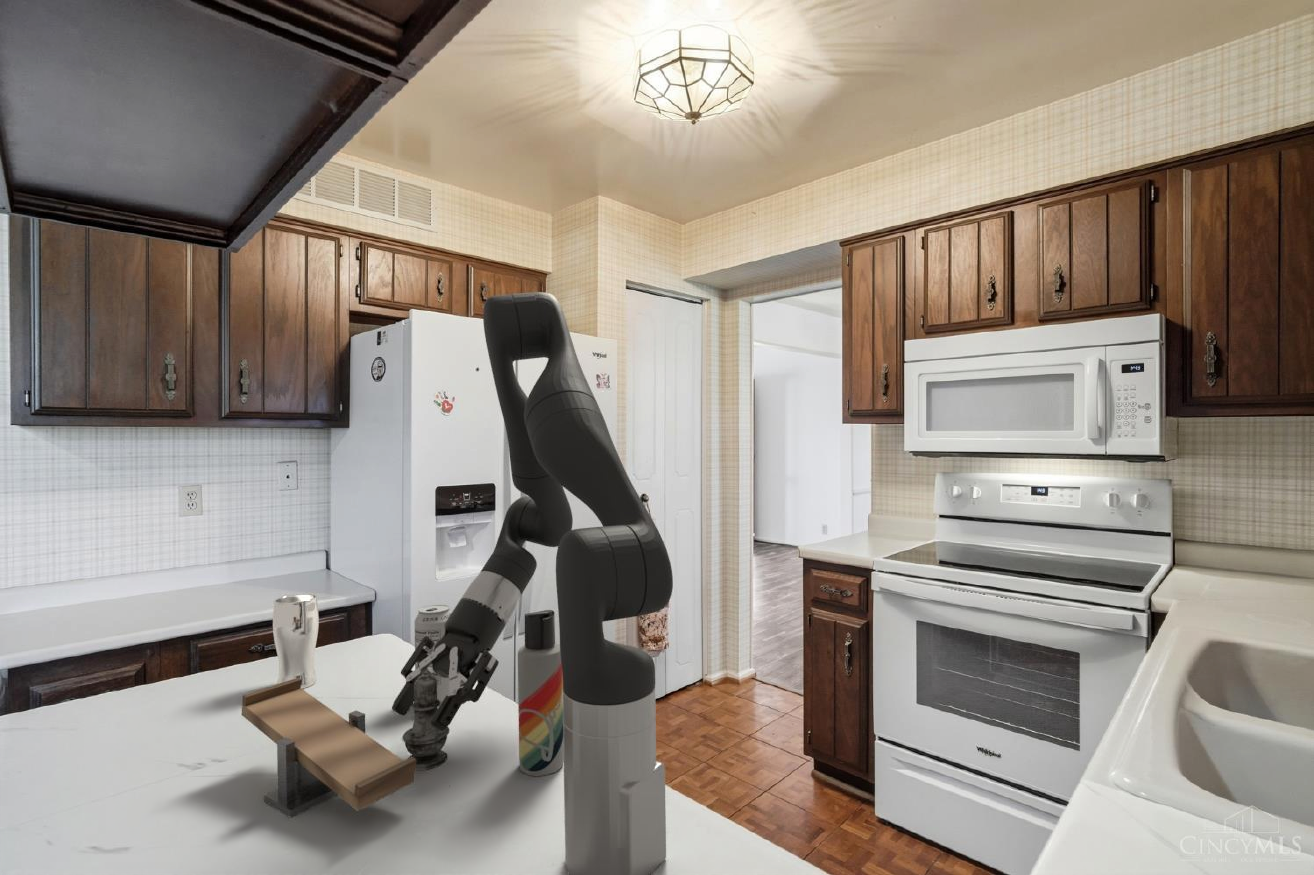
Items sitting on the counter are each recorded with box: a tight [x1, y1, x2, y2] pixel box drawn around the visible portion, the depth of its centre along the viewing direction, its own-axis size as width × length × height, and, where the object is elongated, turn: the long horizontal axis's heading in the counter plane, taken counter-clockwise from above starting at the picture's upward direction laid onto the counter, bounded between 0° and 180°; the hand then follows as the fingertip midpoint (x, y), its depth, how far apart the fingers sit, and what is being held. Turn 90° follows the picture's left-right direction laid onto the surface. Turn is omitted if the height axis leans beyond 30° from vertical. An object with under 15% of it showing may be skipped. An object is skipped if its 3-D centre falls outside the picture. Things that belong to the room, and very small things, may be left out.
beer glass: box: [272, 593, 320, 690], centre depth 113 cm, size 7×7×15 cm
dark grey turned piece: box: [401, 669, 451, 771], centre depth 85 cm, size 6×6×12 cm
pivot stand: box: [263, 710, 366, 818], centre depth 79 cm, size 6×11×7 cm, turn 147°
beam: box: [241, 678, 417, 812], centre depth 79 cm, size 26×7×3 cm, turn 57°
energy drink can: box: [414, 604, 452, 708], centre depth 104 cm, size 6×6×15 cm
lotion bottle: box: [517, 609, 564, 777], centre depth 83 cm, size 6×6×20 cm
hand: (416, 720), depth 84 cm, fingers open, 7 cm apart
